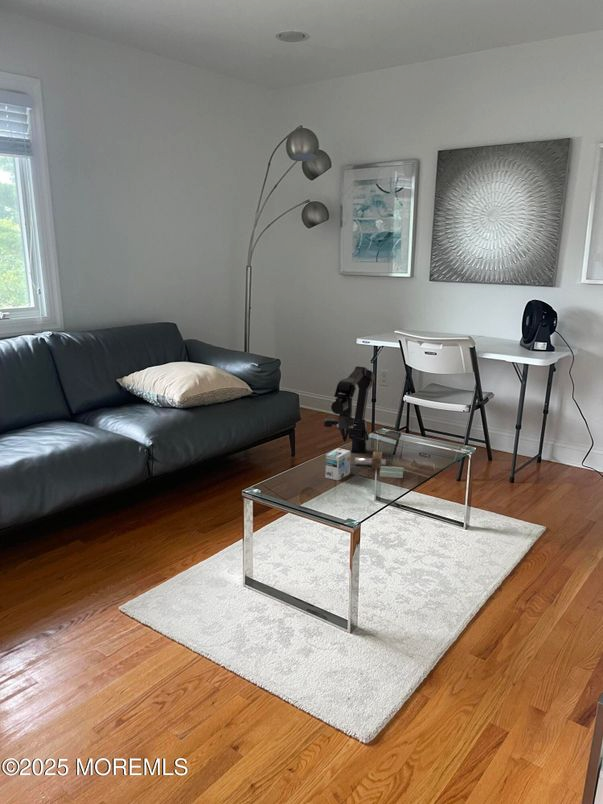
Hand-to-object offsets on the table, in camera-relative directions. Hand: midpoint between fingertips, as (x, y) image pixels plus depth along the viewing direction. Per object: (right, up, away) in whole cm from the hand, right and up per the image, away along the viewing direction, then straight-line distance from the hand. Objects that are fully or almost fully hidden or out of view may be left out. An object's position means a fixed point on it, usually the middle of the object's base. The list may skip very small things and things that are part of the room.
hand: (344, 441), depth 280 cm
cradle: (+20, -14, -10) cm, 26 cm away
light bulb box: (-4, -14, -12) cm, 19 cm away
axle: (+12, -11, +1) cm, 16 cm away
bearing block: (+15, -11, 0) cm, 18 cm away
